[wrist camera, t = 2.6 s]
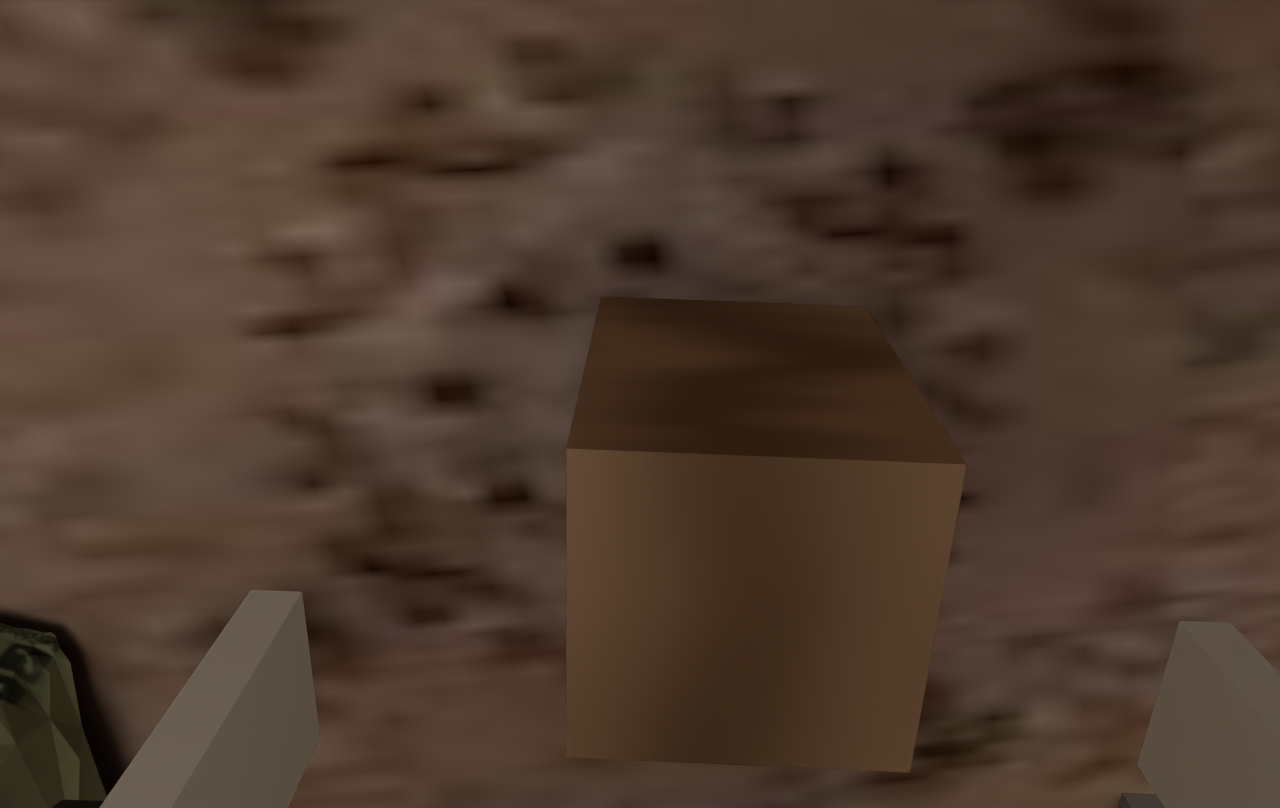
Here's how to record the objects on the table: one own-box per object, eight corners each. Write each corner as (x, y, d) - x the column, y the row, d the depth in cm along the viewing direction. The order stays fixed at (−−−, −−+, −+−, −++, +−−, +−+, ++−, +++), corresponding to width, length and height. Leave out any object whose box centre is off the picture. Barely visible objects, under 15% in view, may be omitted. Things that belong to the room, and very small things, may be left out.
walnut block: (864, 306, 22) (966, 464, 14) (835, 535, 24) (910, 772, 17) (600, 296, 22) (566, 449, 14) (597, 525, 24) (566, 757, 17)
